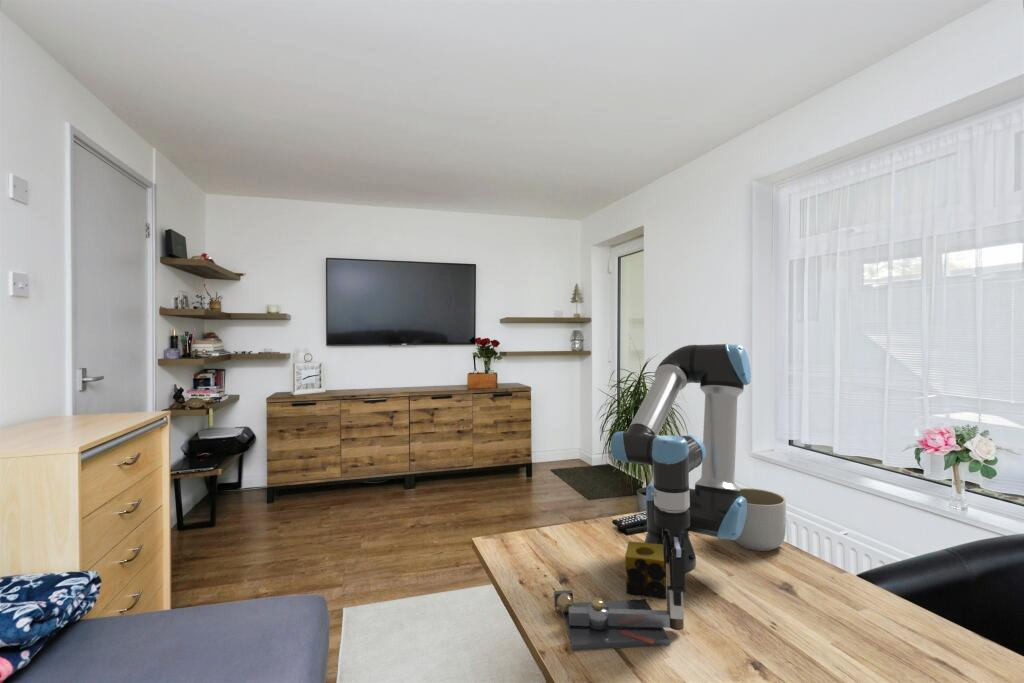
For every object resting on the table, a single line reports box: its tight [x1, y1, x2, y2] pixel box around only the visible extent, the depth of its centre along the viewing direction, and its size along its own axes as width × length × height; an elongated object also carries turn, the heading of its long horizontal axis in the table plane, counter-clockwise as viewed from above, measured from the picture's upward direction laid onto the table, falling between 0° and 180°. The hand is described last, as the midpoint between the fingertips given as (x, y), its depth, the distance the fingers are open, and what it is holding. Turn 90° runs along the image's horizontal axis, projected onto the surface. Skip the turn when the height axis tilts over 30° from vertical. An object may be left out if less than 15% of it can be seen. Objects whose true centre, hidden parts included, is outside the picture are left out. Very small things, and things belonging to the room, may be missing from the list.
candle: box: [624, 541, 667, 600], centre depth 124 cm, size 10×10×10 cm
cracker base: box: [553, 589, 671, 652], centre depth 107 cm, size 23×17×7 cm
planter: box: [733, 487, 787, 552], centre depth 148 cm, size 17×17×15 cm
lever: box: [569, 562, 685, 631], centre depth 106 cm, size 25×5×13 cm, turn 84°
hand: (675, 612), depth 105 cm, fingers closed on lever, 3 cm apart
